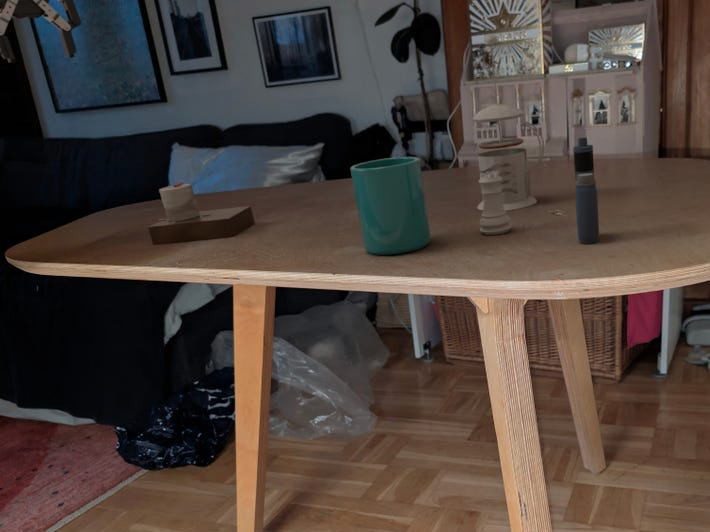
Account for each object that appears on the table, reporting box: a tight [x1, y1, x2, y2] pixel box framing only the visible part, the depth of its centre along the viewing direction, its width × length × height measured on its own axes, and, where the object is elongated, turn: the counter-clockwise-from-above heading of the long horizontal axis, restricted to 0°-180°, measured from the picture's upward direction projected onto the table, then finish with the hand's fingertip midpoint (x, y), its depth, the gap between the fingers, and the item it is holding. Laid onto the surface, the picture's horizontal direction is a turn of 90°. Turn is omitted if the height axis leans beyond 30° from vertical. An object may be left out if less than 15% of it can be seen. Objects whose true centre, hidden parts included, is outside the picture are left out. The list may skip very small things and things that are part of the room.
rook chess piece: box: [478, 171, 512, 236], centre depth 96 cm, size 4×4×8 cm
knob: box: [158, 182, 200, 221], centre depth 118 cm, size 5×5×6 cm
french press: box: [471, 35, 545, 211], centre depth 108 cm, size 10×12×25 cm
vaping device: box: [572, 137, 600, 245], centre depth 85 cm, size 3×5×12 cm, turn 175°
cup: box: [349, 156, 431, 256], centre depth 94 cm, size 9×12×11 cm
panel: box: [147, 205, 255, 246], centre depth 120 cm, size 15×10×3 cm
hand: (42, 59), depth 112 cm, fingers open, 8 cm apart
